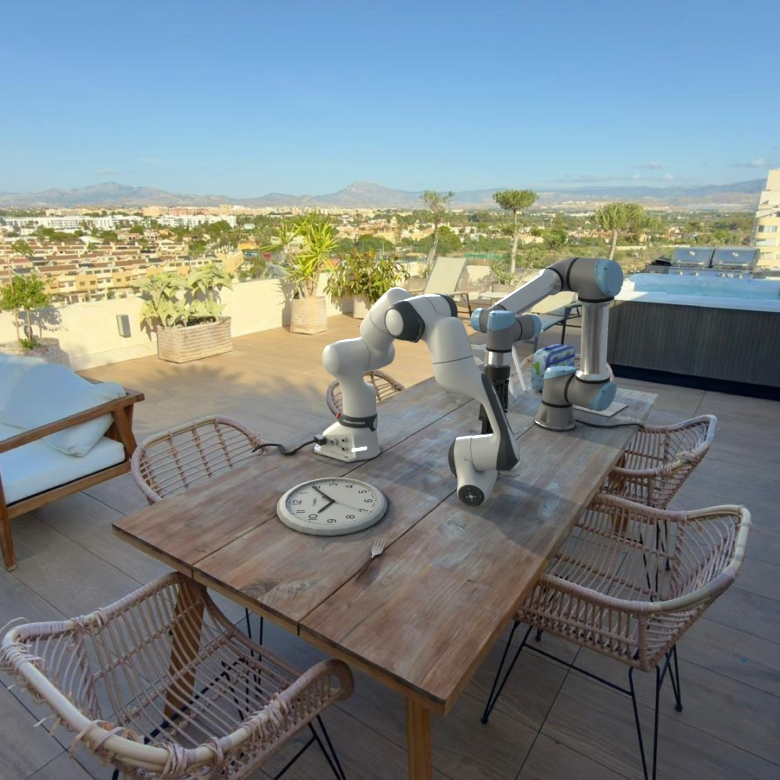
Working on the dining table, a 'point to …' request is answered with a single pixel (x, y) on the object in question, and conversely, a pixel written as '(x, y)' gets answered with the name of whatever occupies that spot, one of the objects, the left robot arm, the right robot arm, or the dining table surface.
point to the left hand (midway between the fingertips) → (490, 452)
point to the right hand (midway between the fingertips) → (491, 436)
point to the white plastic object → (480, 362)
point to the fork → (375, 551)
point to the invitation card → (609, 411)
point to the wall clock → (331, 506)
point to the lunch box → (550, 362)
